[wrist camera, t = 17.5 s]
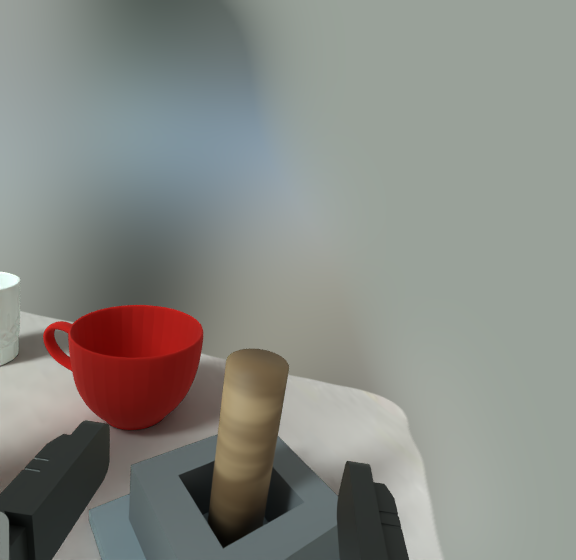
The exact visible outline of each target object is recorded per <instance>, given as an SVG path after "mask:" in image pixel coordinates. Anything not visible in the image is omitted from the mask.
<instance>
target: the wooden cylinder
mask: <svg viewBox="0 0 576 560" xmlns="http://www.w3.org/2000/svg"><path fill="white" fill-rule="evenodd" d="M288 371H289V365H288V363H287V362H286V360H285V359H284V358H282V357H281V356H279V355H277V354H275V353H273V352H270V351H266V350H260V349H243V350H239V351H235V352H233V353H232V354H230V355H229V356H228V357H227V360H226V367H225V376H224V385H223V394H222V402H221V411H220V420H219V428H218V437H217V446H216V454H215V463H214V472H213V480H212V489H211V498H210V506H209V515H208V525H209V527H210V528H211V530H212V531H213V533H214V535H215V536H216V538H217V540H218V541H219V543H220V545H221V546H222V548H225V547H227V546H228V545H230V544H232V543H234V542H236V541H237V540H239V539H241V538H243V537H244V536H246V535H248V534H250V533H251V532H253V531H255V530H257V529H258V528H260V527H262V526H263V521H264V515H265V509H266V503H267V497H268V491H269V485H270V479H271V473H272V467H273V461H274V455H275V449H276V443H277V437H278V431H279V425H280V419H281V413H282V407H283V401H284V395H285V389H286V383H287V377H288Z"/></svg>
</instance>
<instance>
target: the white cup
mask: <svg viewBox="0 0 576 560" xmlns="http://www.w3.org/2000/svg"><path fill="white" fill-rule="evenodd" d="M19 331H20V278H19V277H18V276H16V275H14V274H10V273H6V272H0V365H3V364H5V363H7V362H9V361H11V360H13V359H14V358H15V357H16V356H17V355H18V353H19V340H18V339H19V337H18V335H19Z"/></svg>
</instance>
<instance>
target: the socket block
mask: <svg viewBox="0 0 576 560" xmlns="http://www.w3.org/2000/svg"><path fill="white" fill-rule="evenodd" d="M217 437H218V434H217V435H215V436H212V437H209V438H206V439H203V440H201V441H198V442H195V443H192V444H189V445H186V446H184V447H181V448H178V449H175V450H172V451H170V452H167V453H164V454H161V455H158V456H155V457H153V458H150V459H147V460H144V461H141V462H139V463H136V464H133V465H131V477H130V494H128V495H125V496H123V497H120V498H118V499H115V500H113V501H110V502H108V503H105V504H103V505H100V506H98V507H95V508H93V509H90V510H89V522H90V525H91V528H92V531H93V534H94V537H95V540H96V543H97V546H98V549H99V552H100V555H101V558H102V560H340V558H339V544H338V529H337V501H338V496H337V495H336V494H335V493H334V492H333V491H332V490H331V489H330V488H329V487H328V486H327V485H326V484H325V483H324V482H323V481H322V480H321V479H320V478H319V477H318V476H317V475H316V474H315V473H314V472H313V471H312V470H311V469H310V468H309V467H308V466H307V465H306V464H305V463H304V462H303V461H302V460H301V459H300V458H299V457H298V456H297V455H296V454H295V453H294V452H293V451H292V450H291V449H290V448H289V447H288V446H287V445H286V443H285V442H284V441H283V440H282V439H281V438H280V437H279V436H278V437H277V443H276V449H275V455H274V461H273V467H272V473H271V479H270V485H269V491H268V497H267V503H266V509H265V515H264V521H263V526H262V527H260V528H258V529H257V530H255V531H253V532H251V533H250V534H248V535H246V536H244V537H243V538H241V539H239V540H237V541H236V542H234V543H232V544H230V545H228V546H227V547H225V548H222V546H221V545H220V543H219V541H218V540H217V538H216V536H215V535H214V533H213V531H212V530H211V528H210V527H209V525H208V515H209V506H210V498H211V489H212V480H213V472H214V463H215V454H216V446H217Z"/></svg>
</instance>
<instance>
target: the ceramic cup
mask: <svg viewBox="0 0 576 560" xmlns="http://www.w3.org/2000/svg"><path fill="white" fill-rule="evenodd" d="M55 329H58V330H62V331H65V332H66V333H68V341H69V353H70V357H69V356H67V355H66V354H65V353H64V352H63V351H62V350H61V349H60V347H59V346H58V344H57V343H56V340H55V337H54V331H55ZM43 339H44V344H45V347H46V349H47V350H48V352H49V353H50V355H51V356H52V357H53V358H54V359H55V360H56V361H57V362H58V363H60V364H61V365H62V366H64V367H66V368H67V369H69V370H71V371H72V372H73V377H74V381H75V384H76V387H77V390H78V392H79V394H80V396H81V397H82V399H83V400H84V402H85V403H86V405H87V406H88V407H89V408H90V409H91V410H92V411H93V412H94V413H95V414H96V415H98V416H99V417H100V418H101V419H103V420H105V421H106V422H107V423H108V424H110V425H111V426H113V427H115V428H119V429H124V430H138V429H144V428H148V427H150V426H153V425H155V424H157V423H158V422H160V421H161V420H162V419H163V418H164V417H165V416H166V415H168V414H169V413H170V412H171V411H173V410H174V409H175V408H176V407H177V406H178V405H179V403H180V402H181V401H182V400H183V399H184V397H185V396H186V394H187V393H188V391H189V389H190V387H191V385H192V383H193V380H194V378H195V375H196V372H197V369H198V365H199V360H200V356H201V350H202V343H203V329H202V326H201V324H200V323H199V322H198V321H197V320H196V319H194V318H193V317H192V316H190V315H188V314H185V313H183V312H180V311H177V310H174V309H169V308H165V307H158V306H147V305H128V306H117V307H110V308H106V309H101V310H97V311H95V312H91V313H89V314H87V315H85V316H82V317H81V318H79V319H78V320H76V321H75V322H74V323H73V324H70V323H68V322H63V321H60V322H55V323H53V324H51V325H49V326H48V327H47V328H46V330H45V331H44V335H43Z"/></svg>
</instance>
